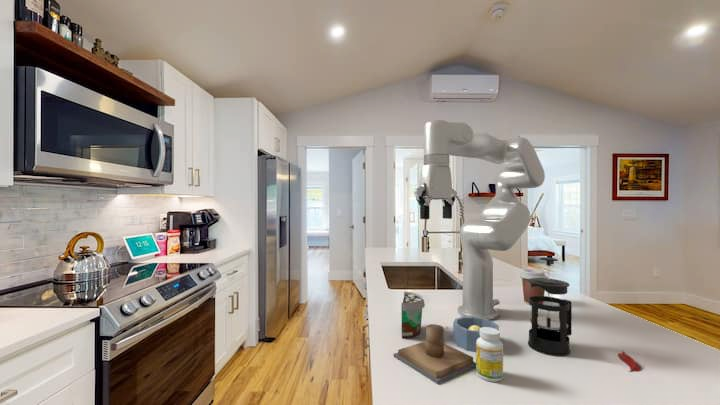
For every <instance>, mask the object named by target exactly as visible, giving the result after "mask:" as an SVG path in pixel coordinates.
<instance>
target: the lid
mask: <svg viewBox="0 0 720 405" xmlns="http://www.w3.org/2000/svg"><path fill="white" fill-rule="evenodd" d="M444 342H445V329H444V327H443V326H442V325H439V324H434V323H433V324H427V325H426V326H425V341H422V342H419V343H416V344H412V345H409V346H406V347H403V348H401V349H398V350H397V353H398V355H399V356H401V357H402V358H404V359H406V360H407V361H409V362H411V363H412V364H414V365H415V366H417V367H419V368H420V369H422V370H424V371H425V372H427V373H429V374H430V375H432V376H433V377H435V378H438V377H440V376H442V375H445V374H447V373H450V372H452V371H454V370H457V369H459V368H461V367H464V366H466V365H468V364H471V363H473V362H474V357H473V356H472V355H469V354H467V353H466V352H464V351H461V350H459V349H457V348H455V347H453V346H451V345H449V344H446V343H444Z"/></svg>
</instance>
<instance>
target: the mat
mask: <svg viewBox="0 0 720 405" xmlns="http://www.w3.org/2000/svg"><path fill="white" fill-rule="evenodd" d="M393 357H394V358H396V359H397V360H399V361H400V362H402V363H404V364H405V365H407V366H408V367H409V368H411V369H412V370H415V371H416V372H417V373H420V374H421V375H423V376H424V377H425V378H427V379H429V380H430V381H432V382H434V383H435V384H437V385H439V384H442V383H443V382H444V383H445V382H446V381H449V380H450V379H453V378H455V377H458V376H459V375H462V374H464V373H467V372H469V371H471V370H474V369H476V361H473V363H471V364H468V365H466V366H464V367H461V368H459V369H457V370H454V371H452V372H450V373H447V374H445V375H442V376H440V377H438V378H435V377H433V376H432V375H430V374H429V373H427V372H425V371H424V370H422V369H420V368H419V367H417V366H415V365H414V364H412V363H411V362H409V361H407V360H406V359H404V358H402V357H401V356H399V355H398V352H395V353H393Z"/></svg>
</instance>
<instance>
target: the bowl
mask: <svg viewBox="0 0 720 405" xmlns="http://www.w3.org/2000/svg"><path fill="white" fill-rule="evenodd" d="M482 327H490V328H494V329H497V330H498V331H499V332H500V330H499V328H500V327H499V324H498V323H496V322H494V321H493V320H487V319H484V318H478V317H465V316H460V317H457V318H455V319H454V320H453V323H452V328H453V329H452V331H453V332H452V336H453V337H452V338H453V340H452V342H454V344H455V345H456V346H457V347H459V348H461V349H463V350H466V351H469V352H473V353H476V341H477V339H478V338H479V337H480V328H482Z"/></svg>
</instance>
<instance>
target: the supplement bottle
mask: <svg viewBox="0 0 720 405" xmlns="http://www.w3.org/2000/svg"><path fill="white" fill-rule="evenodd" d="M500 339H501V332H500V330H499V331H498V330H497V329H494V328H490V327H482V328H480V337H479V338H478V339H477V341H476V352H475V355H476V356H475V363H476V368H475V370H476V375H477V376H478V377H479V378H480V379H482V380H484V381H487V382H491V383H498V382H500V381H502V380H503V379H504V344H503V342H502V341H501V340H500Z"/></svg>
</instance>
